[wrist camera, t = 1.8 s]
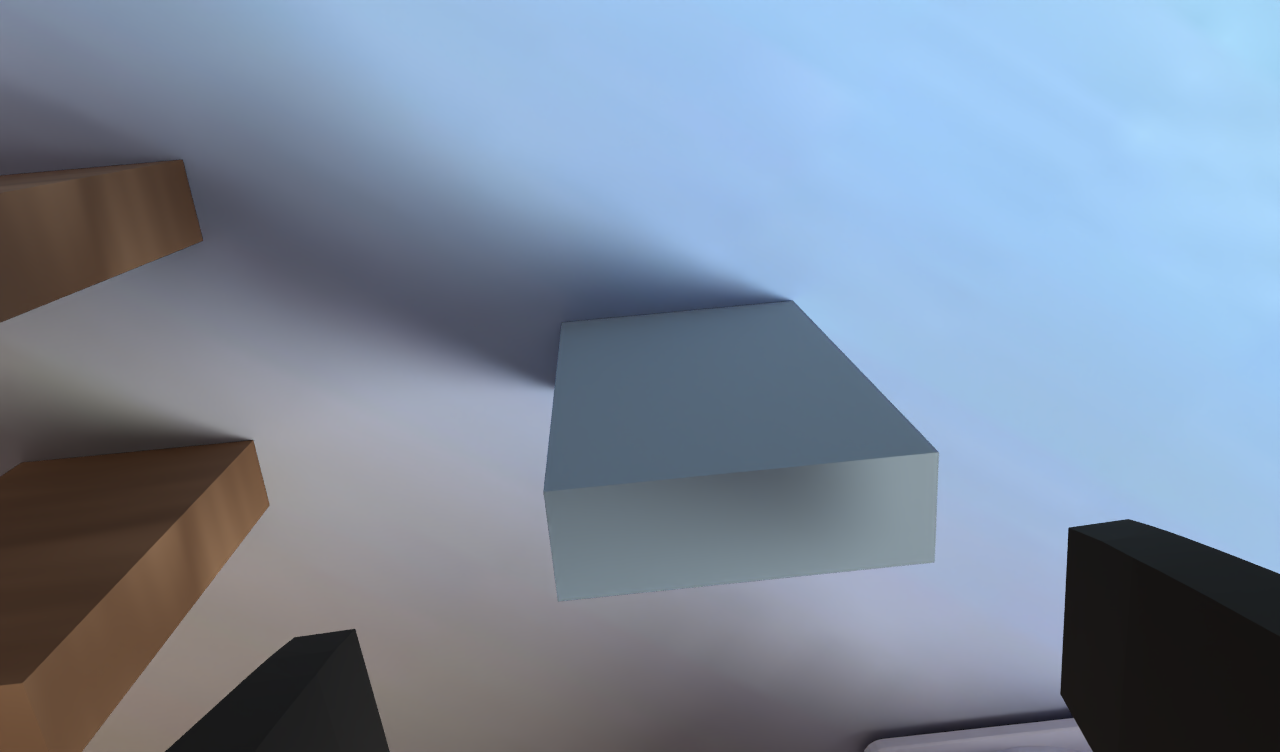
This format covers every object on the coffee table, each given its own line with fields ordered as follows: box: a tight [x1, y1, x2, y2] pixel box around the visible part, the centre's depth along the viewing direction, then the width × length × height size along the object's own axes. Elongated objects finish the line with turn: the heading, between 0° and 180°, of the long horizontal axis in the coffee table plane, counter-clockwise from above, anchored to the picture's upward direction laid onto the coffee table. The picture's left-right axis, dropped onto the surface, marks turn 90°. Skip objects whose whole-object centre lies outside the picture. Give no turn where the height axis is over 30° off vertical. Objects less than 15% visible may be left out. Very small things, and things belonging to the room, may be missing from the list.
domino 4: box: [0, 440, 269, 752], centre depth 15 cm, size 2×5×8 cm, turn 95°
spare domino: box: [544, 301, 939, 601], centre depth 15 cm, size 2×5×8 cm, turn 95°
